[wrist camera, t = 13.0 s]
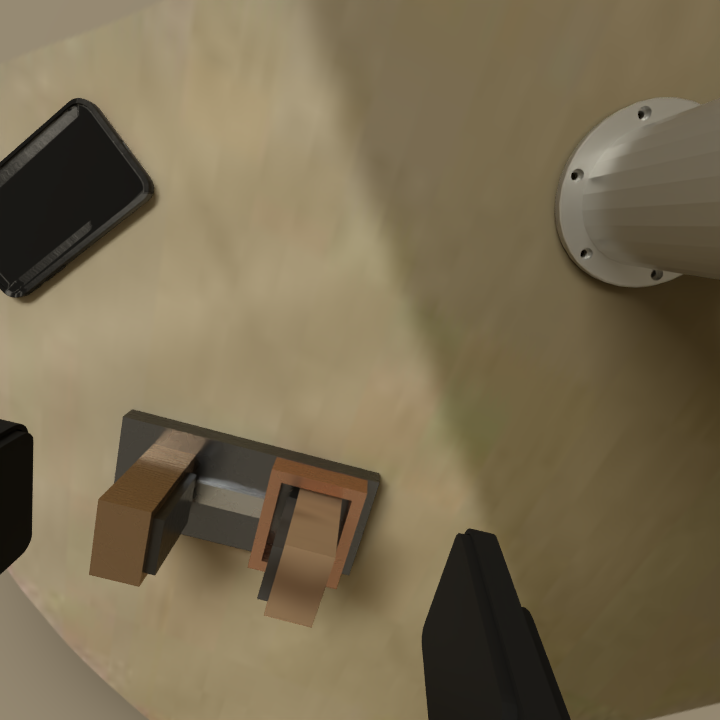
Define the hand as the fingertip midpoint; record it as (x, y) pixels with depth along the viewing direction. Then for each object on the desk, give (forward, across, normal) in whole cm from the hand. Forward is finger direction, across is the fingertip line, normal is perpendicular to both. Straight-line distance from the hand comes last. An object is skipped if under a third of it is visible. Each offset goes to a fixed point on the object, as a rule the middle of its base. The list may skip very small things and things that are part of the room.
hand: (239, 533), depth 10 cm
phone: (+27, +23, -2) cm, 36 cm away
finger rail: (+27, +5, +18) cm, 33 cm away
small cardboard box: (+26, -1, +18) cm, 32 cm away
